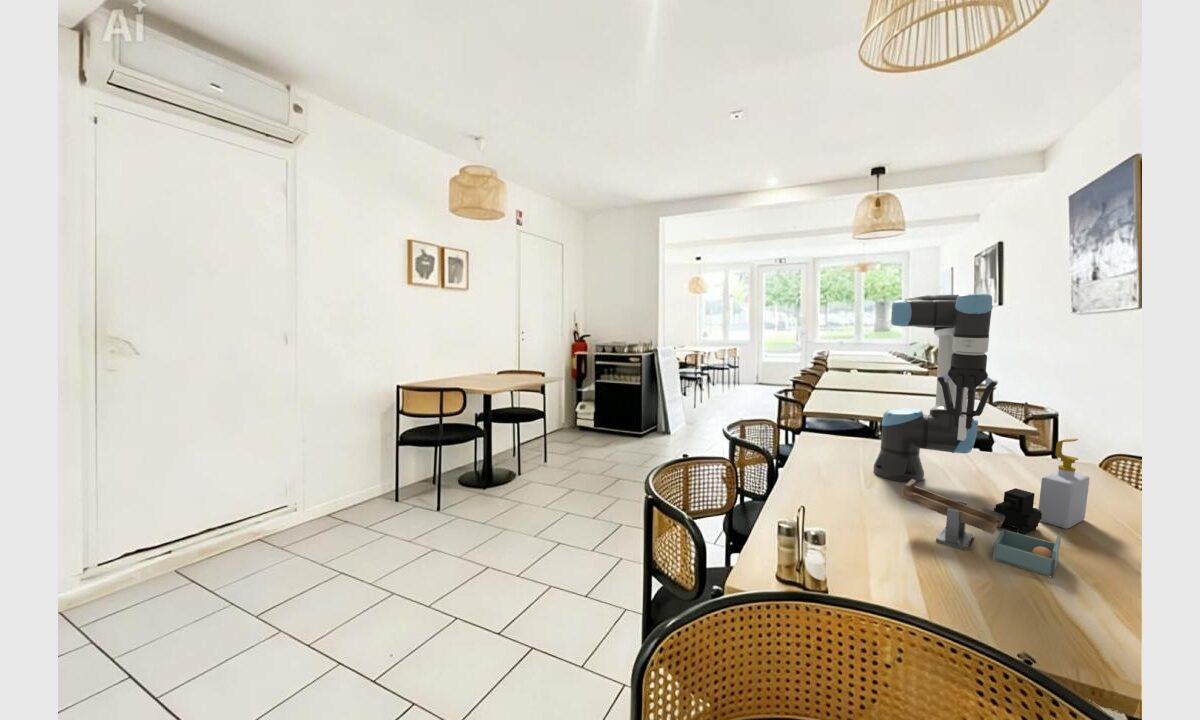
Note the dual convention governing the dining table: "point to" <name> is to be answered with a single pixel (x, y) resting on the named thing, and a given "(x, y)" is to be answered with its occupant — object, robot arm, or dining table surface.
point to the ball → (1042, 552)
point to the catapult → (940, 504)
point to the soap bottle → (1064, 493)
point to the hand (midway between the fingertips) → (961, 438)
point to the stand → (955, 531)
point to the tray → (1026, 552)
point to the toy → (1019, 511)
